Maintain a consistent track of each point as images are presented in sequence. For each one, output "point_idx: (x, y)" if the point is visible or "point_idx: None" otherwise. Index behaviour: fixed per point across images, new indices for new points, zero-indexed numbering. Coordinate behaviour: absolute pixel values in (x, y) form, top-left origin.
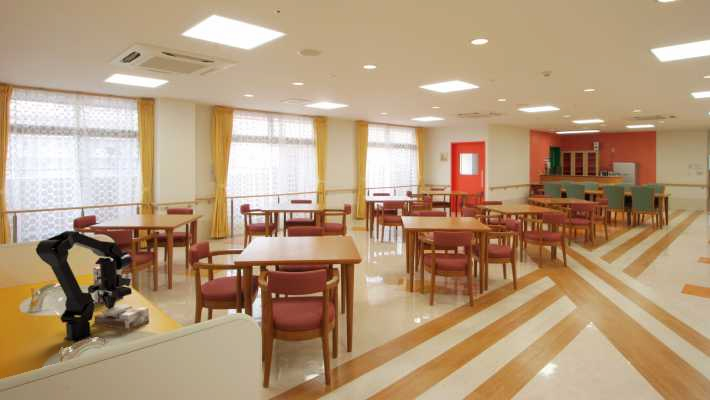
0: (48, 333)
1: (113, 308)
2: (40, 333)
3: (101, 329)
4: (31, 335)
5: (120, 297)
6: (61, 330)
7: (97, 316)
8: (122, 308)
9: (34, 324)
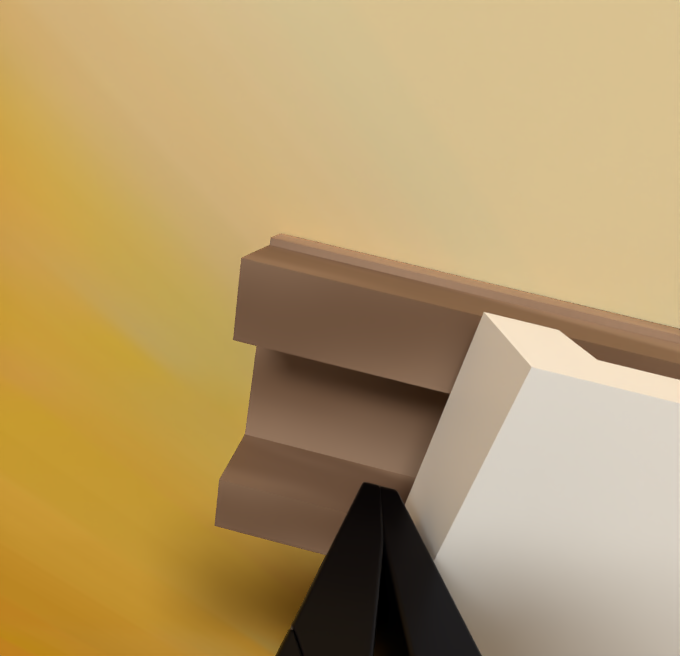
0: (110, 609)
1: (484, 607)
2: (63, 608)
3: None
4: (50, 626)
5: None
6: (136, 575)
7: (269, 537)
8: None
9: None
